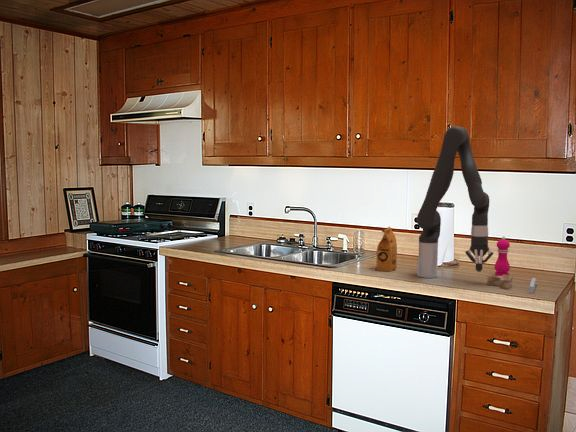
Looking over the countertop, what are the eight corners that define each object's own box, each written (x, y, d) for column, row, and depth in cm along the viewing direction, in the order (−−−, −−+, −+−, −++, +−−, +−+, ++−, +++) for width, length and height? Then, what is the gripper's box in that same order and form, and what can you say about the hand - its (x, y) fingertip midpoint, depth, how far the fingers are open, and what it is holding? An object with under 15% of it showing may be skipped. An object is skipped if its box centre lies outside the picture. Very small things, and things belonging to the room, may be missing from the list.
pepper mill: (505, 274, 280) (507, 235, 278) (512, 277, 273) (513, 237, 270) (491, 274, 280) (493, 235, 277) (497, 278, 273) (499, 237, 270)
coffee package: (373, 270, 290) (373, 228, 287) (381, 266, 301) (382, 225, 298) (391, 272, 285) (392, 230, 282) (399, 268, 296) (400, 227, 293)
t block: (485, 286, 255) (486, 278, 255) (489, 281, 266) (489, 273, 265) (509, 289, 251) (509, 280, 250) (511, 283, 261) (512, 275, 261)
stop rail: (529, 293, 244) (529, 286, 244) (532, 284, 260) (532, 277, 260) (532, 293, 243) (533, 286, 243) (535, 284, 259) (535, 278, 259)
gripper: (463, 235, 259) (463, 271, 261) (493, 236, 253) (492, 273, 255) (466, 233, 266) (465, 268, 268) (495, 234, 260) (495, 270, 262)
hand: (479, 271), depth 261 cm, fingers closed
